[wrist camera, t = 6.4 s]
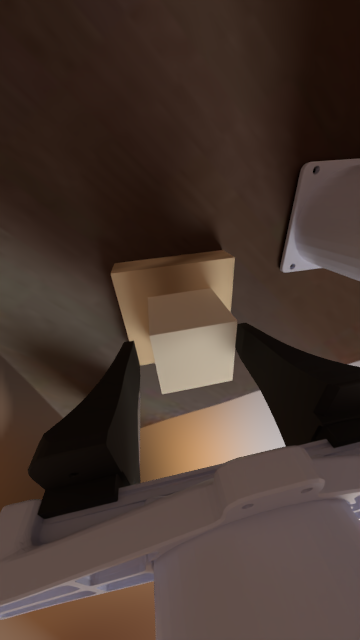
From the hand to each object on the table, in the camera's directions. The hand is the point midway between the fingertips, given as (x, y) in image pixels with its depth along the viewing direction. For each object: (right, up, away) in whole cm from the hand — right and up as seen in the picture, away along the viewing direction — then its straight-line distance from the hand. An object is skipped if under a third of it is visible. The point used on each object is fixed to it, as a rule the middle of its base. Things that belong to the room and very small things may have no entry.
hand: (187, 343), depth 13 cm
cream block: (0, +2, +3) cm, 3 cm away
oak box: (-1, +3, +5) cm, 6 cm away
